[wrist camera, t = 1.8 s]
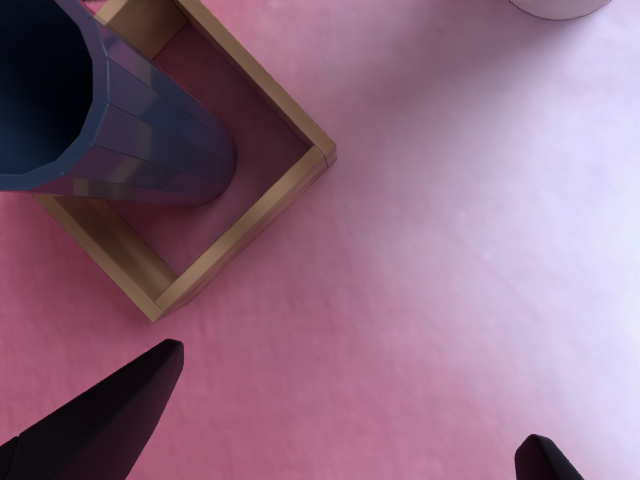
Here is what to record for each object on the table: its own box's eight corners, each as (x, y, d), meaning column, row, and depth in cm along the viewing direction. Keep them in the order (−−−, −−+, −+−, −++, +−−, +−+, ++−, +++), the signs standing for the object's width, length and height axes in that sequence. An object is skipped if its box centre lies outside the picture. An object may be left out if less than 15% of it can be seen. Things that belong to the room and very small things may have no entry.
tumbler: (187, 226, 24) (6, 235, 11) (120, 155, 24) (-142, 80, 11) (257, 158, 23) (153, 80, 10) (188, 85, 23) (-1, -82, 10)
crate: (187, 304, 24) (152, 323, 20) (46, 154, 24) (-22, 139, 20) (337, 159, 23) (336, 144, 19) (189, 2, 23) (152, -50, 19)
